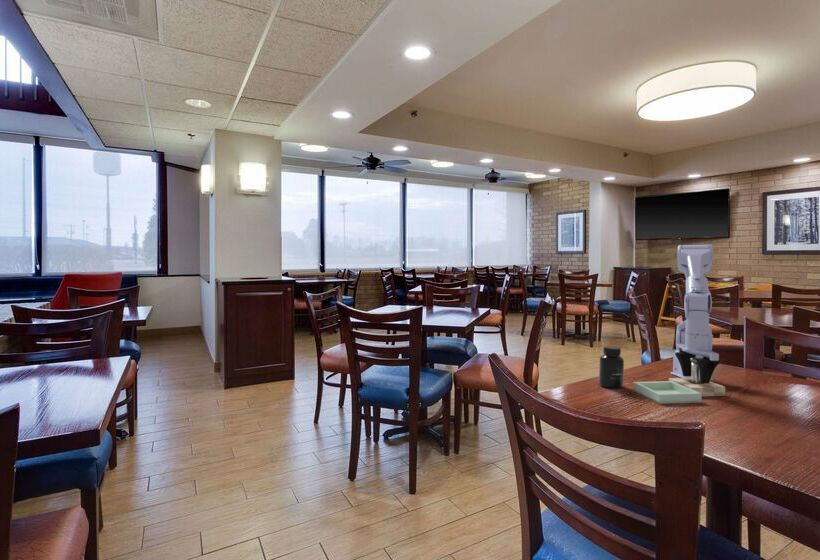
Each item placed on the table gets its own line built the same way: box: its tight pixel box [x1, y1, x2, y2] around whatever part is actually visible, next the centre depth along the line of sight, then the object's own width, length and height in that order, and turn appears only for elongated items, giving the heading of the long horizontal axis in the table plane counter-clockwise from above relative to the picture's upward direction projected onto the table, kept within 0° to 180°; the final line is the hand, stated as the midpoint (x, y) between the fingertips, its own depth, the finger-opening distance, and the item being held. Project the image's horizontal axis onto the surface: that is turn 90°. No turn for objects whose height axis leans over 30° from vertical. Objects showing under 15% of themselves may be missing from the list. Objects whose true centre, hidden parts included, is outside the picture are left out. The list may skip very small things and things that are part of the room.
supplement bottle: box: [598, 345, 625, 389], centre depth 133 cm, size 7×7×12 cm
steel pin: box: [690, 357, 701, 384], centre depth 127 cm, size 3×3×10 cm
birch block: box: [667, 377, 726, 397], centre depth 127 cm, size 10×10×2 cm
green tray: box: [632, 380, 703, 405], centre depth 122 cm, size 12×12×2 cm
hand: (695, 379), depth 127 cm, fingers open, 7 cm apart
